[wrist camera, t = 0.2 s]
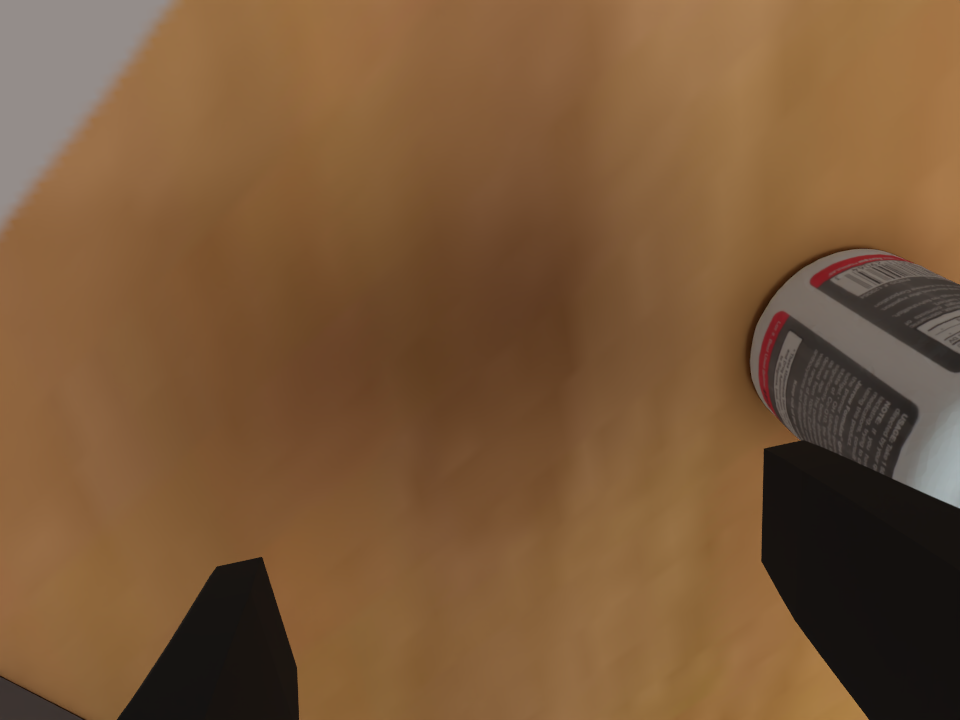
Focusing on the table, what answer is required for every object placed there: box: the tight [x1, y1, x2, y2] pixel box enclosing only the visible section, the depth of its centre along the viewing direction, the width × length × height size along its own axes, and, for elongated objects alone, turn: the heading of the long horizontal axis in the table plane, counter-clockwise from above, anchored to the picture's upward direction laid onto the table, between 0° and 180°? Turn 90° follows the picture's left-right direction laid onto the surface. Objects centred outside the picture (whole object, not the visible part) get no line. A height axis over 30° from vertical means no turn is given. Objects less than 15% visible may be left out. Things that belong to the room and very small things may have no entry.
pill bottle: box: [750, 249, 960, 508], centre depth 18 cm, size 5×5×10 cm
